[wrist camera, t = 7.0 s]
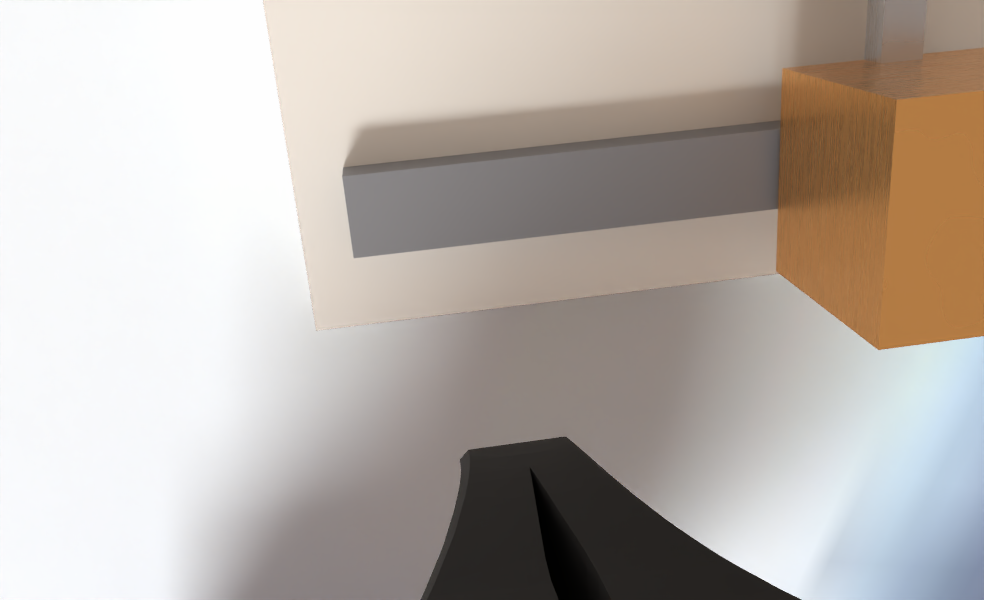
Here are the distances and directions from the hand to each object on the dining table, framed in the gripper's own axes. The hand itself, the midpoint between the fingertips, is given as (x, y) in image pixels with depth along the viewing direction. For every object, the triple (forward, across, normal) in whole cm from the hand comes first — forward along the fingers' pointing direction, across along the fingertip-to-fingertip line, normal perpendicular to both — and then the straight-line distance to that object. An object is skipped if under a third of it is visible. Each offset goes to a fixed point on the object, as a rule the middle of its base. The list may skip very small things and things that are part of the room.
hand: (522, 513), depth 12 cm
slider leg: (+8, -8, -3) cm, 12 cm away
